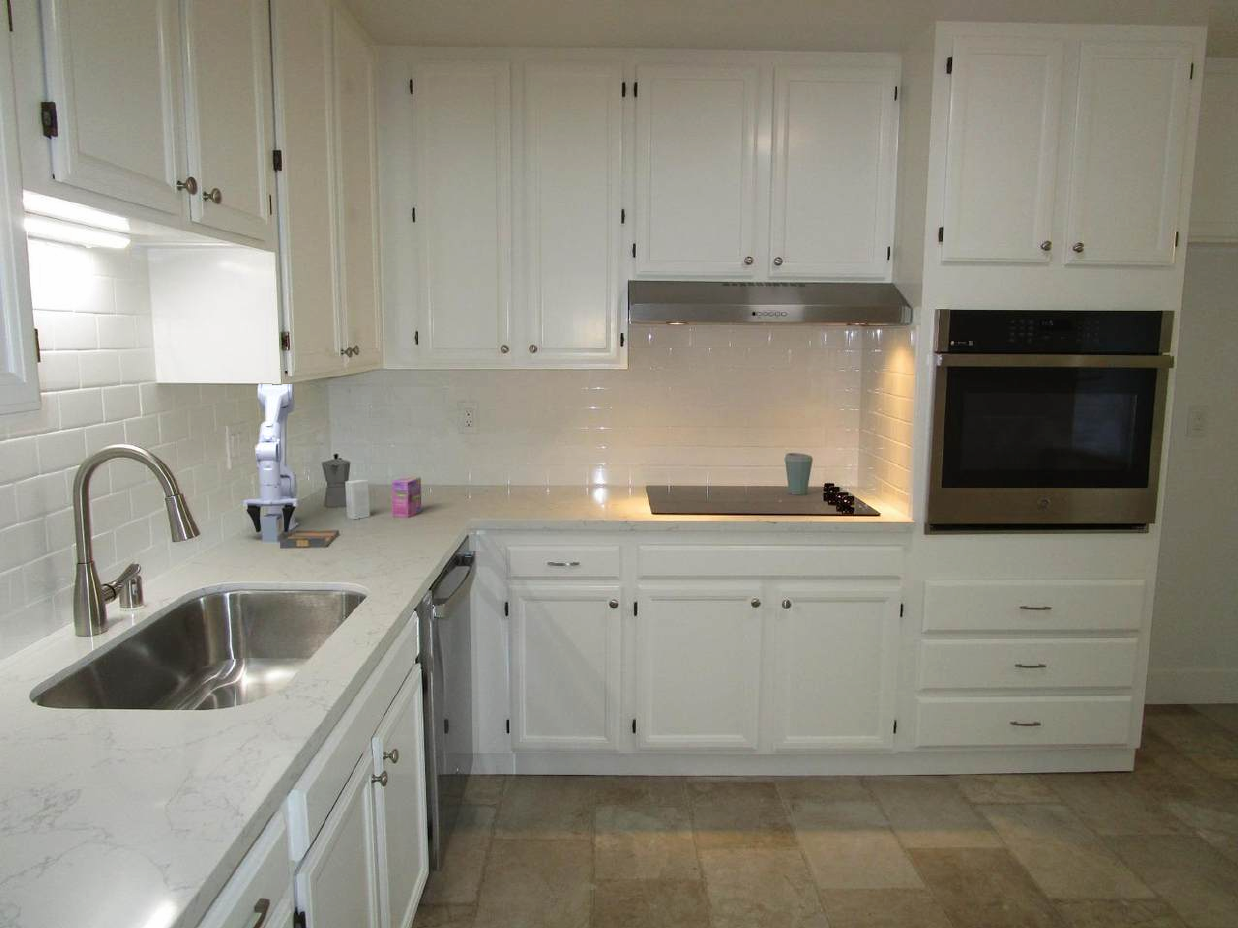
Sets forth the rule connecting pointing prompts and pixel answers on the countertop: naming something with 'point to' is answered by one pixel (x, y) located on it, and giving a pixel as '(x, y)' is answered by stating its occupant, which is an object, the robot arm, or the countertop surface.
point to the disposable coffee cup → (798, 472)
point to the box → (406, 497)
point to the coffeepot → (336, 481)
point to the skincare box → (357, 499)
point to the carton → (272, 527)
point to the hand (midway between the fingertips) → (272, 531)
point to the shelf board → (316, 534)
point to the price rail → (302, 542)
